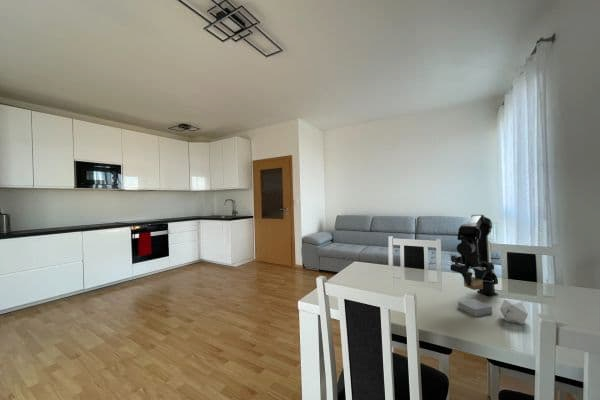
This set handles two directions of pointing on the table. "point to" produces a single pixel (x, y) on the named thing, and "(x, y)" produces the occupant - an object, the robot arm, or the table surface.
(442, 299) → the table surface
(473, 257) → the robot arm
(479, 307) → the base
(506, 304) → the die
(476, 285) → the block
